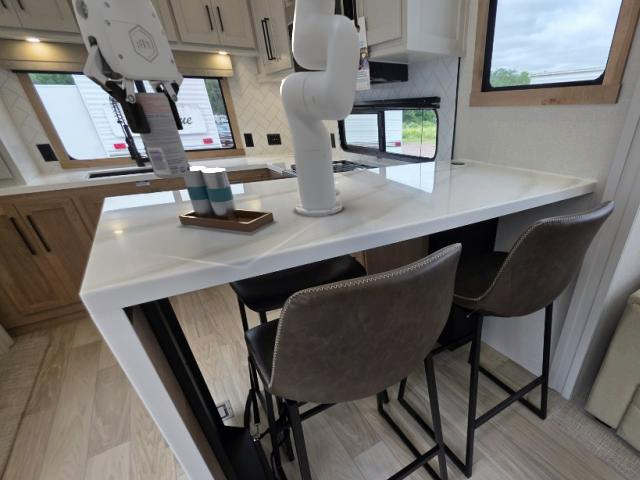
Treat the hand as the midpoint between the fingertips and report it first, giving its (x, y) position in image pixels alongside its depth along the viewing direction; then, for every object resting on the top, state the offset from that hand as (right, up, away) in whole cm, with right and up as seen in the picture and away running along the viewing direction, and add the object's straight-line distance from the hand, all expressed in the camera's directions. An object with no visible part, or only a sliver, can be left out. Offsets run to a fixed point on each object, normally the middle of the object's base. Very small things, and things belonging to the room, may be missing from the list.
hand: (158, 130), depth 53 cm
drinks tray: (-3, -9, +28) cm, 29 cm away
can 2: (-3, -8, +27) cm, 29 cm away
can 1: (-9, -7, +29) cm, 31 cm away
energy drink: (0, -6, +4) cm, 7 cm away
